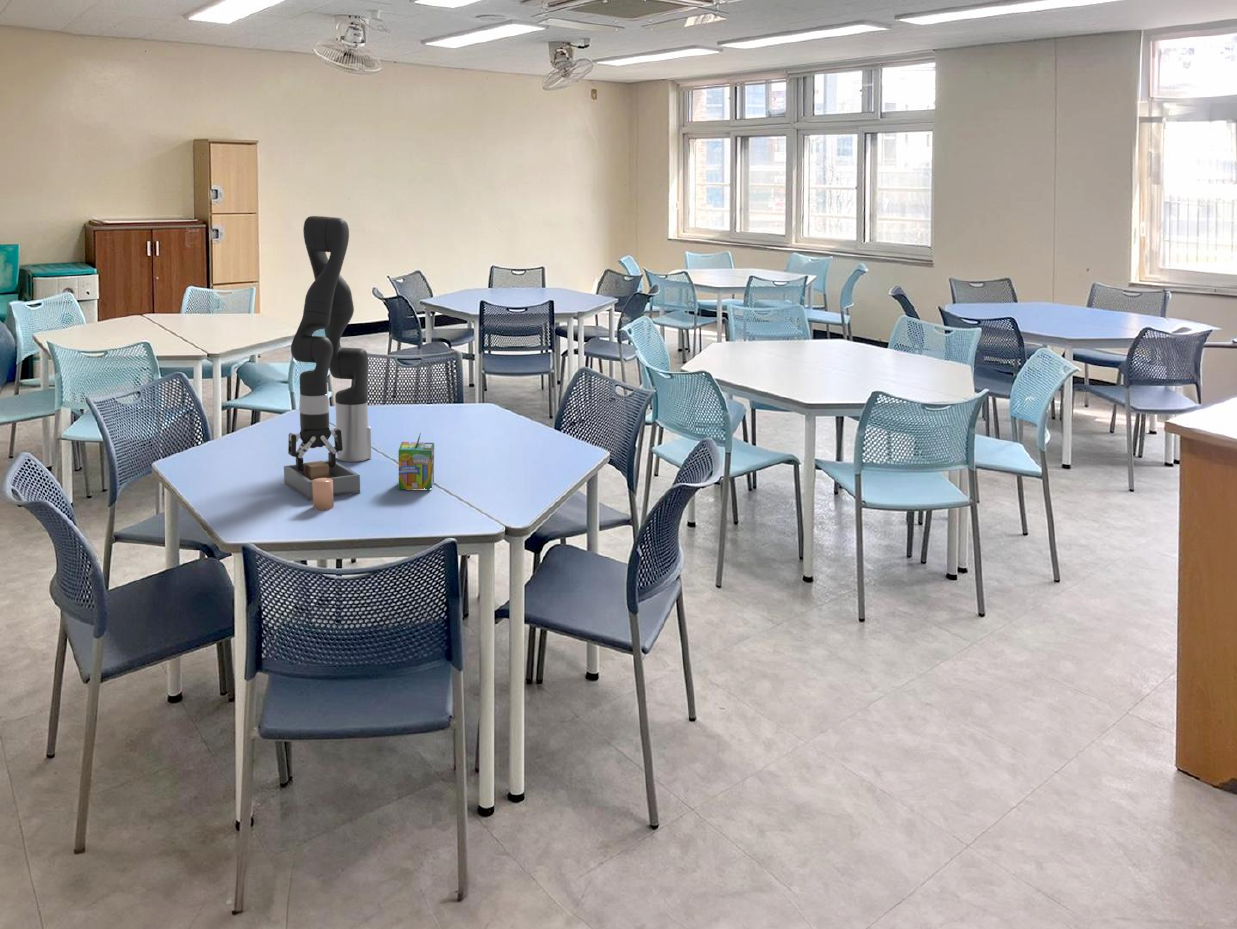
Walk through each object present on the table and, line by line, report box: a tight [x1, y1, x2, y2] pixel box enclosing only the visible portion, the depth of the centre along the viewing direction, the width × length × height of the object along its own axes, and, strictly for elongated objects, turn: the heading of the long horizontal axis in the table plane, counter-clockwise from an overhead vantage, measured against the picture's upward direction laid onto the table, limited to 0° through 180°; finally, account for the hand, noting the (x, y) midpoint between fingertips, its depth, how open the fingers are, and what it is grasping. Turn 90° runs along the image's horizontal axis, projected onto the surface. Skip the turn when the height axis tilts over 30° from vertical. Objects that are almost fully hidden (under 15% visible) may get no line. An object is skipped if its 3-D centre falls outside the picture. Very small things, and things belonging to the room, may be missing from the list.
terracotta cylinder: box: [312, 478, 335, 511], centre depth 270 cm, size 5×5×7 cm
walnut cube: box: [303, 460, 329, 480], centre depth 289 cm, size 5×5×5 cm
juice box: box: [398, 432, 435, 491], centre depth 291 cm, size 9×9×15 cm
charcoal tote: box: [283, 460, 361, 501], centre depth 286 cm, size 14×18×5 cm
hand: (316, 468), depth 289 cm, fingers open, 8 cm apart
